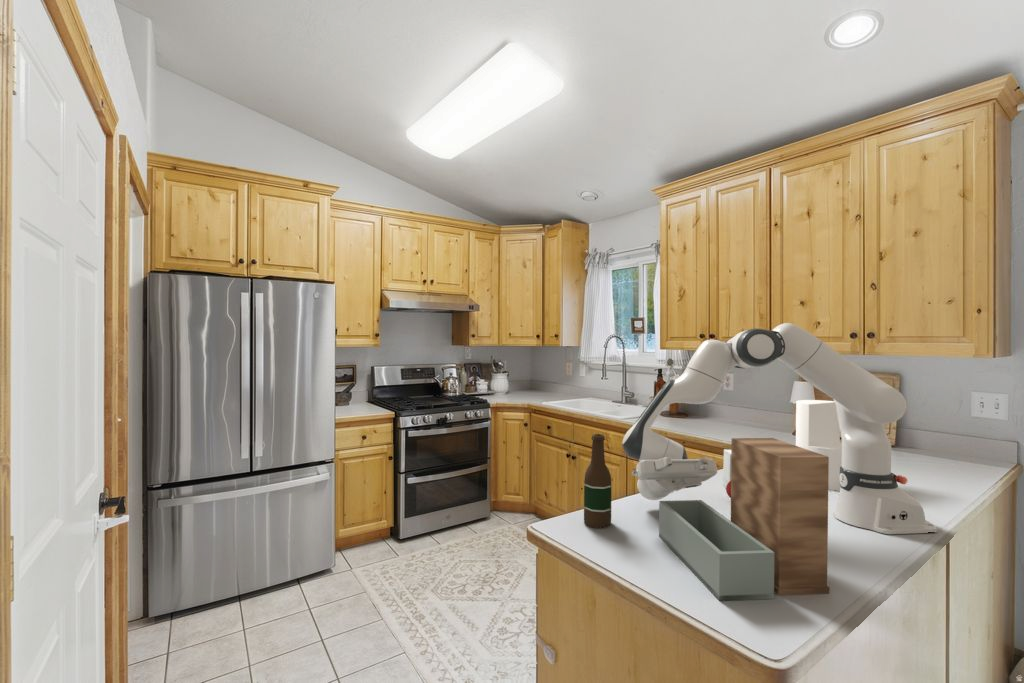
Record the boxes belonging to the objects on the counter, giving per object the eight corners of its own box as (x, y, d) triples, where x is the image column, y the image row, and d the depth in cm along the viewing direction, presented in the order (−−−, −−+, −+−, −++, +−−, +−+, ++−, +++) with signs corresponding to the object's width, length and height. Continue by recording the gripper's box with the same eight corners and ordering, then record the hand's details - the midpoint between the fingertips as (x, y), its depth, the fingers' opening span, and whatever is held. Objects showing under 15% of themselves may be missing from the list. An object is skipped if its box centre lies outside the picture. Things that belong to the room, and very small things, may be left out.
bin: (658, 536, 122) (659, 500, 122) (700, 535, 123) (701, 500, 123) (719, 600, 92) (719, 554, 92) (773, 598, 93) (774, 552, 93)
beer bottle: (605, 531, 125) (606, 439, 125) (578, 525, 129) (578, 435, 129) (616, 521, 132) (617, 434, 131) (589, 516, 136) (590, 431, 136)
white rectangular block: (784, 479, 173) (785, 401, 172) (815, 473, 180) (816, 398, 180) (833, 493, 157) (835, 407, 157) (865, 487, 164) (866, 405, 164)
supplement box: (729, 492, 157) (729, 453, 157) (722, 485, 165) (723, 448, 165) (753, 493, 156) (753, 454, 156) (745, 486, 164) (746, 449, 164)
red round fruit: (749, 506, 145) (749, 479, 145) (728, 504, 146) (728, 478, 146) (743, 499, 150) (744, 474, 150) (724, 498, 152) (724, 473, 151)
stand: (728, 552, 113) (729, 437, 113) (771, 551, 114) (772, 437, 113) (778, 595, 94) (780, 457, 94) (829, 593, 95) (831, 457, 95)
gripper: (627, 463, 131) (644, 448, 119) (700, 462, 133) (723, 447, 121) (631, 487, 128) (648, 474, 116) (705, 486, 130) (729, 473, 118)
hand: (687, 460), depth 119 cm, fingers open, 8 cm apart
